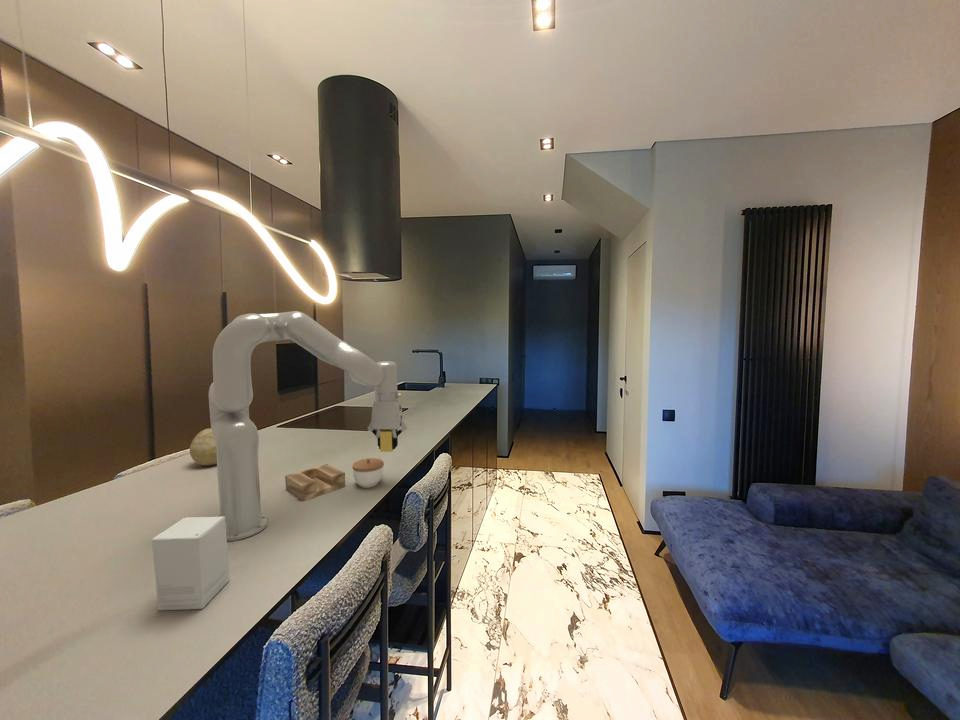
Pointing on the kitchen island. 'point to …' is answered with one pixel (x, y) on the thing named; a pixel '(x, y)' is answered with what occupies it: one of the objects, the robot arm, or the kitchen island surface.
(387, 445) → the yellow upright block
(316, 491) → the notched board
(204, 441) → the fossilized egg
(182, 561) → the supplement box
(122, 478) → the kitchen island surface
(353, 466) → the lidded jar
